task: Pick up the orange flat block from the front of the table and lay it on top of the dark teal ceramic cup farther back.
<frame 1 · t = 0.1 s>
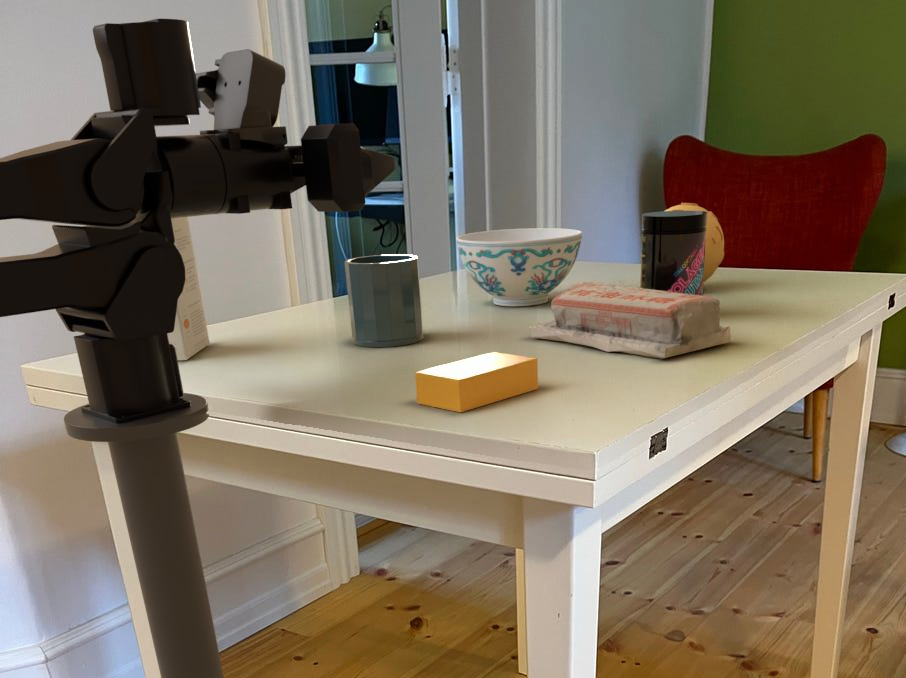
hand: (359, 164, 88), 17 cm above the table, tool horizontal, fingers open, 9 cm apart
small box: (170, 355, 102), on the table
chinaware: (520, 303, 121), on the table
orange flat block: (478, 396, 80), on the table
stress ball: (681, 291, 124), on the table
packaged product: (627, 343, 97), on the table
cup: (388, 340, 103), on the table
supplement container: (670, 319, 107), on the table
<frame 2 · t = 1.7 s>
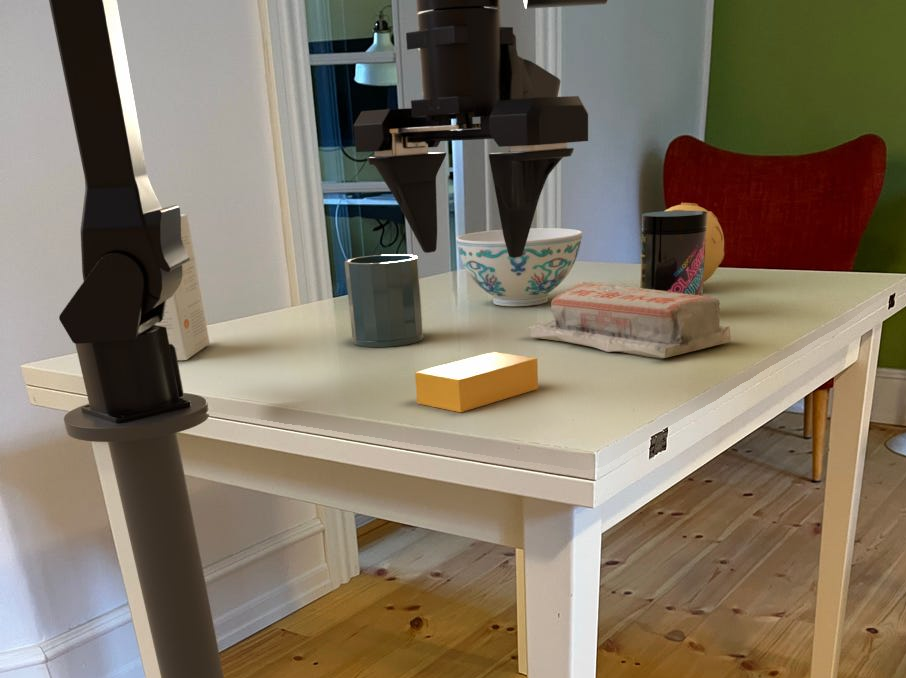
hand: (471, 254, 75), 11 cm above the table, tool pointing down, fingers open, 9 cm apart
nothing on the table moved.
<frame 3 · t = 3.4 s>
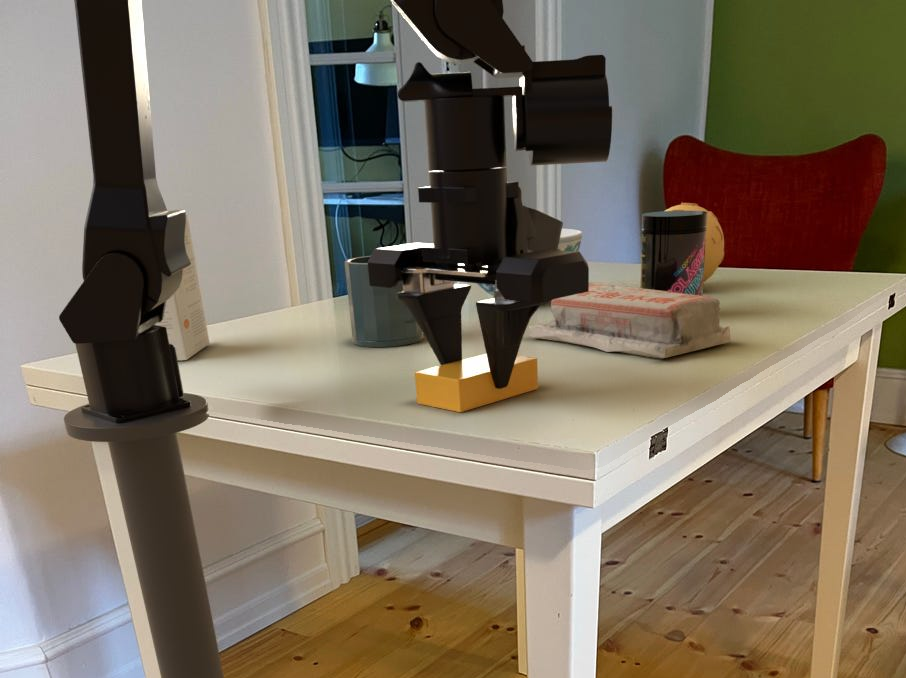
hand: (477, 383, 80), 1 cm above the table, tool pointing down, fingers closed on orange flat block, 5 cm apart
orange flat block: (478, 396, 80), on the table, touching gripper
everything else where it was.
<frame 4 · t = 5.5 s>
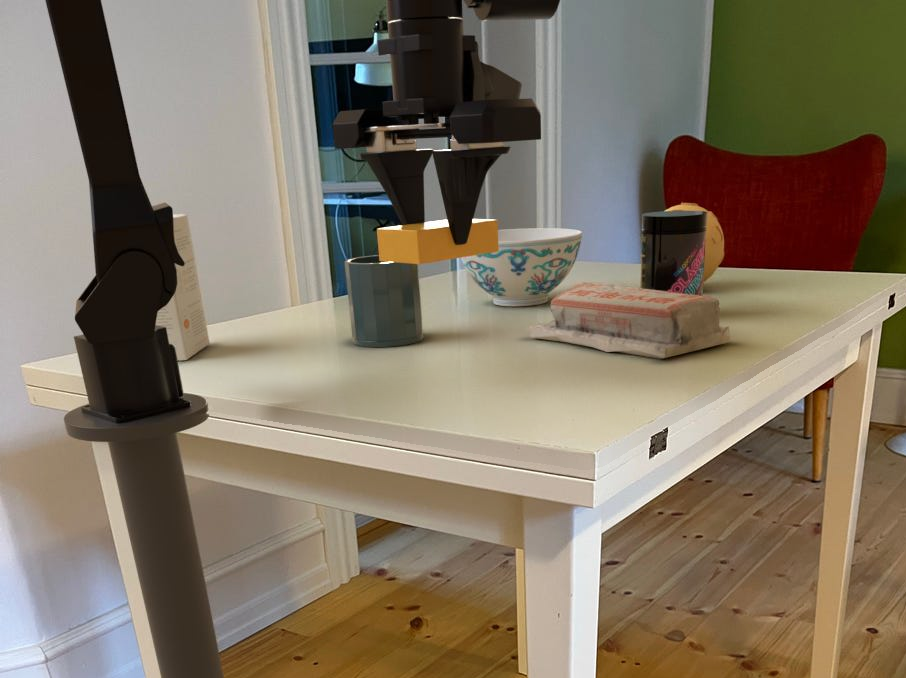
hand: (439, 243, 82), 11 cm above the table, tool pointing down, fingers closed on orange flat block, 5 cm apart
orange flat block: (439, 256, 82), point 10 cm above the table, touching gripper
everything else where it was.
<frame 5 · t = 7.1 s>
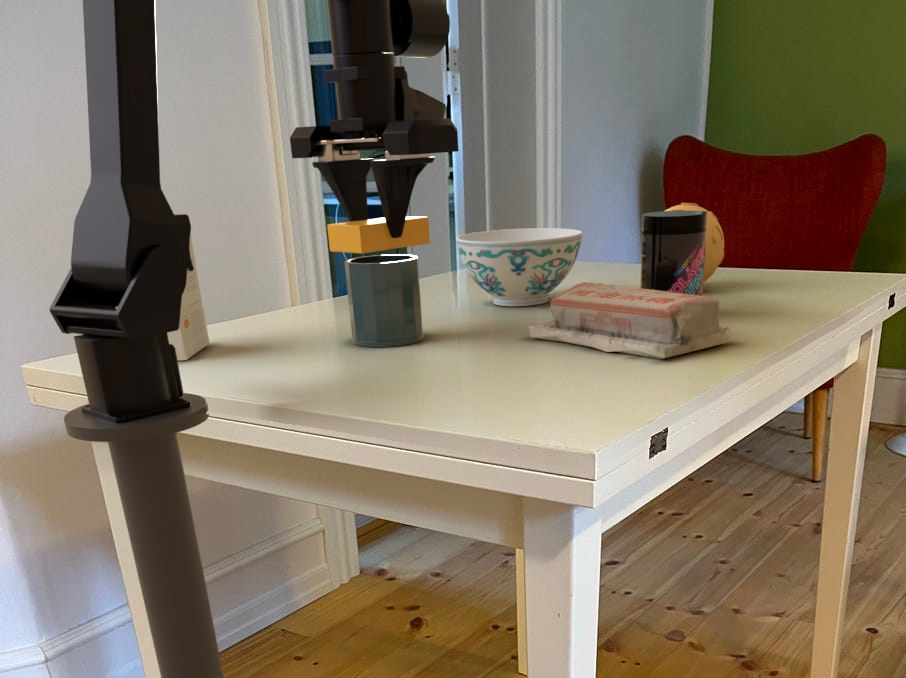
hand: (379, 236, 99), 10 cm above the table, tool pointing down, fingers closed on orange flat block, 5 cm apart
orange flat block: (380, 247, 99), point 9 cm above the table, touching gripper
everything else where it was.
when the fingers open (9 cm above the table, at t = 7.9 s): orange flat block stays where it is, resting on cup.
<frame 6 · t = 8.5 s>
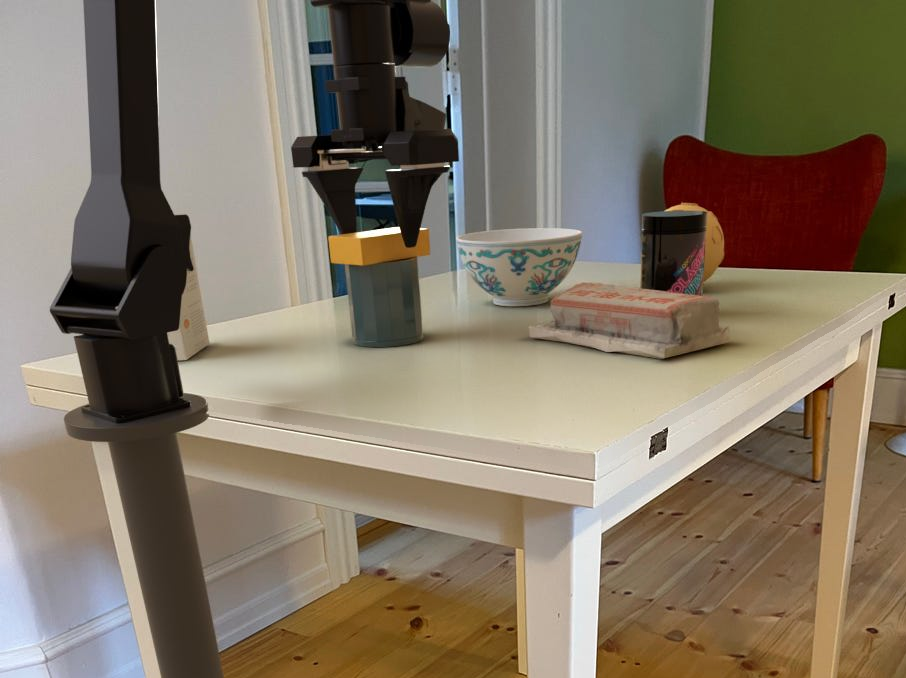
hand: (380, 245, 99), 9 cm above the table, tool pointing down, fingers open, 9 cm apart
orange flat block: (381, 258, 100), point 8 cm above the table, touching cup
cup: (388, 340, 103), on the table, touching orange flat block
everything else where it was.
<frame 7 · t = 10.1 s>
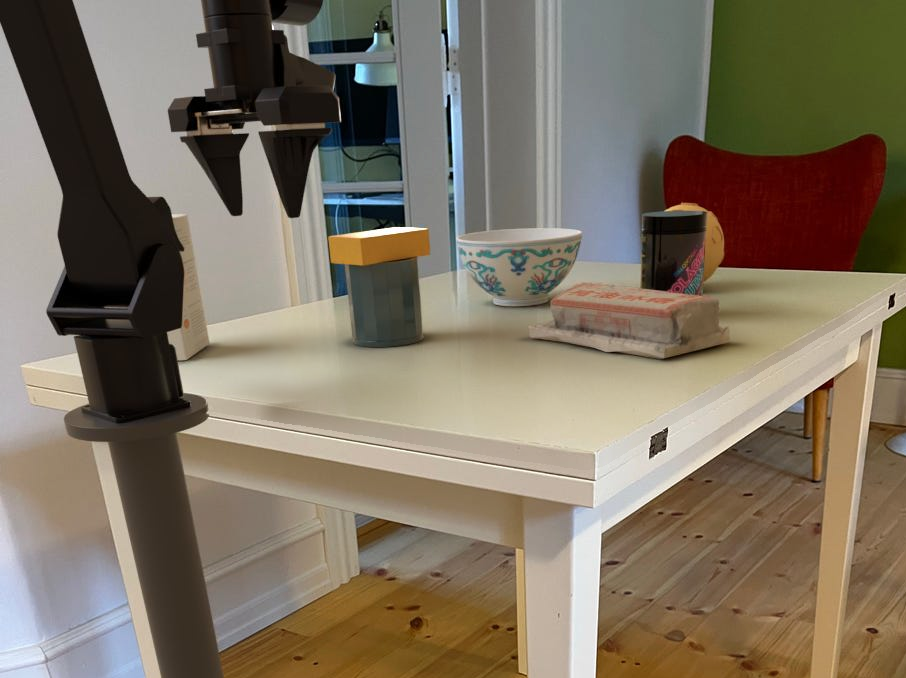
hand: (264, 216, 91), 13 cm above the table, tool pointing down, fingers open, 9 cm apart
nothing on the table moved.
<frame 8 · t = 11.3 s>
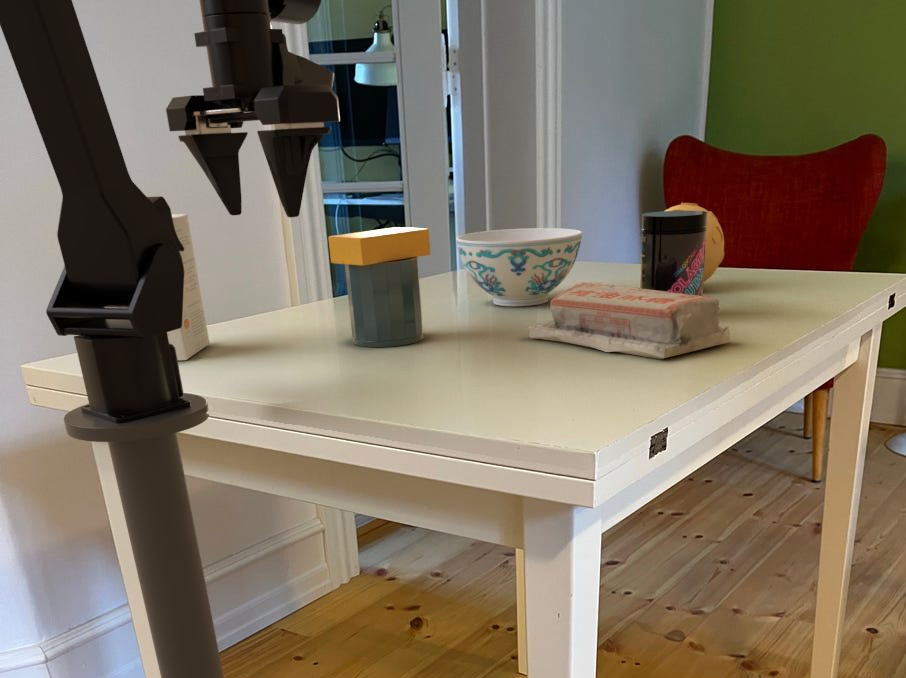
hand: (263, 215, 91), 13 cm above the table, tool pointing down, fingers open, 9 cm apart
nothing on the table moved.
at the end: orange flat block 0.0 cm off-centre on the cup, point 8.0 cm above the cup's base; cup tilted 0°; the gripper is holding nothing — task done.
